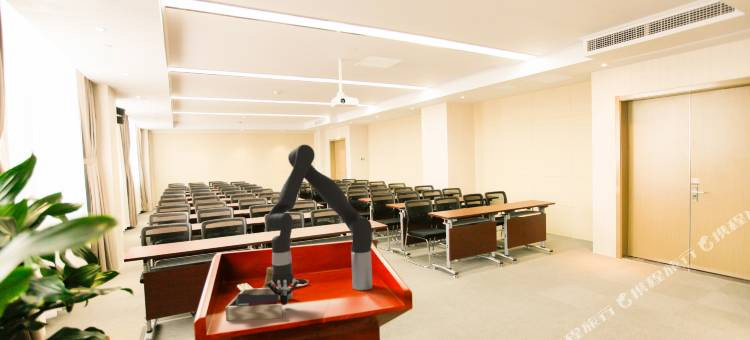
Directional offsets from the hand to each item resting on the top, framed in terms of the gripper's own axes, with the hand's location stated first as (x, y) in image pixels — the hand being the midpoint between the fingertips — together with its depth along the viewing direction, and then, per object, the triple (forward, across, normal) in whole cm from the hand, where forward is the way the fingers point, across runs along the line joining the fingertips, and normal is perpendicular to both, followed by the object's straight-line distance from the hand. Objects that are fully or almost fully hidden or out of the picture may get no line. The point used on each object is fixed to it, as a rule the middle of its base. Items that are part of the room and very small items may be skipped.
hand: (284, 304), depth 152 cm
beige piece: (+2, +9, 0) cm, 9 cm away
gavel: (+3, +5, -24) cm, 25 cm away
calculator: (-2, +3, +1) cm, 4 cm away
